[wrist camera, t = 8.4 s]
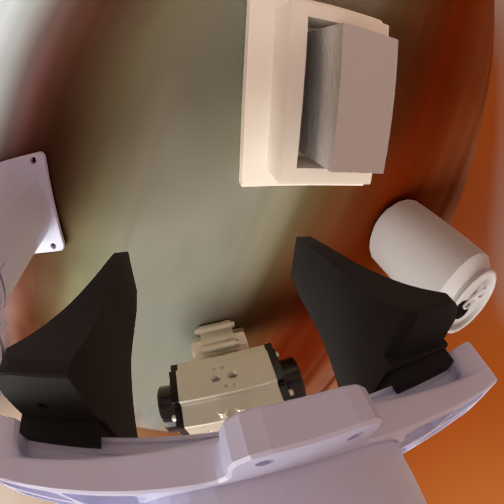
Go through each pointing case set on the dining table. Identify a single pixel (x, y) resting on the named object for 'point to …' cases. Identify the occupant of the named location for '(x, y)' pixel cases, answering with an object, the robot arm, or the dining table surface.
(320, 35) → the grey block
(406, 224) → the can
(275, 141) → the hollow block
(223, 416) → the pneumatic valve
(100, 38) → the dining table surface
